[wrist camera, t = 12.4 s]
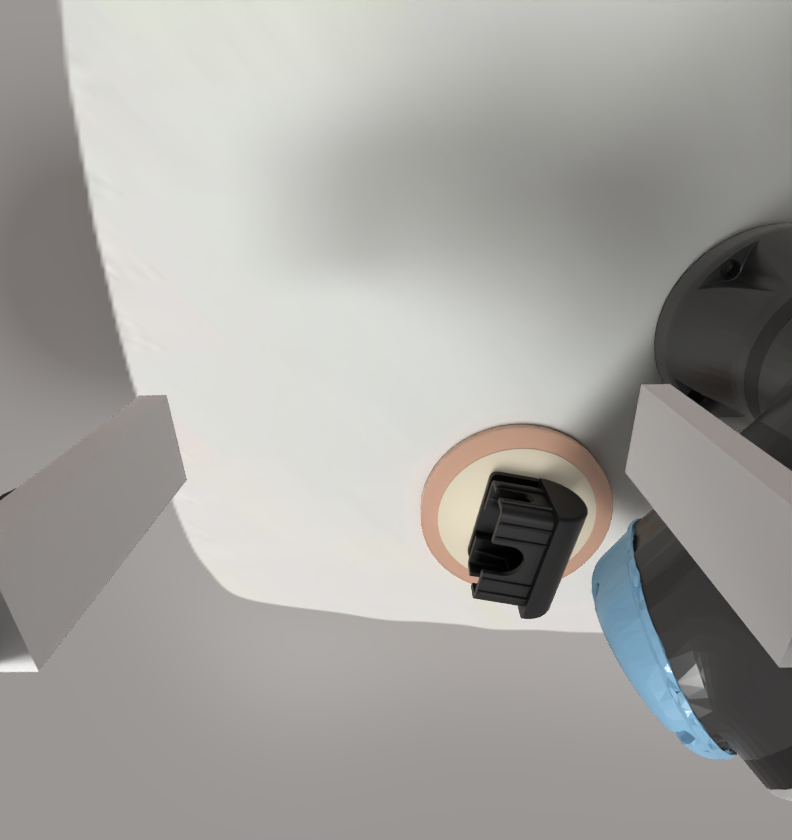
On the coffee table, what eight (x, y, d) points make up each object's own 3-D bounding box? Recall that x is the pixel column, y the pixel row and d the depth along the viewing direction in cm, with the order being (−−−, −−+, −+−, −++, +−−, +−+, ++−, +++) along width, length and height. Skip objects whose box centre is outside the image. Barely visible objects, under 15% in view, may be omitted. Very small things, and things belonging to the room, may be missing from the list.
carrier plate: (622, 425, 42) (630, 434, 41) (590, 581, 49) (596, 594, 47) (422, 422, 43) (423, 431, 41) (418, 577, 49) (419, 590, 48)
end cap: (538, 569, 46) (558, 626, 40) (464, 557, 46) (472, 612, 40) (573, 478, 42) (600, 526, 36) (492, 464, 42) (506, 509, 36)
